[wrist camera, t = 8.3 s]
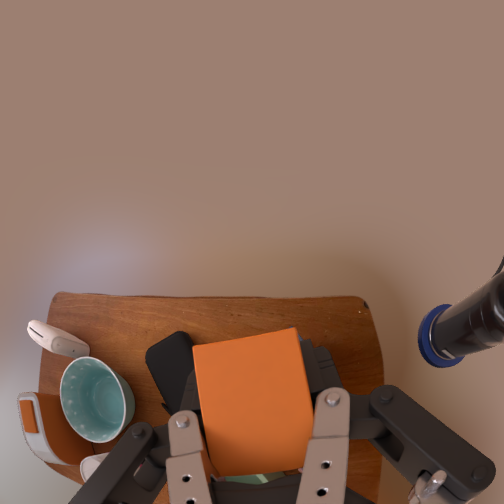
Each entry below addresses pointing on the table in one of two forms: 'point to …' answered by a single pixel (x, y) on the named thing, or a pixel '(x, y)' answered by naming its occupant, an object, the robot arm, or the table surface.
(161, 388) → the carrying case
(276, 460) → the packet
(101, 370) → the bowl
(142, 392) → the table surface
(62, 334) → the photo printer
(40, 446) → the orange grey trash bin
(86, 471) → the beverage can
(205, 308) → the table surface
